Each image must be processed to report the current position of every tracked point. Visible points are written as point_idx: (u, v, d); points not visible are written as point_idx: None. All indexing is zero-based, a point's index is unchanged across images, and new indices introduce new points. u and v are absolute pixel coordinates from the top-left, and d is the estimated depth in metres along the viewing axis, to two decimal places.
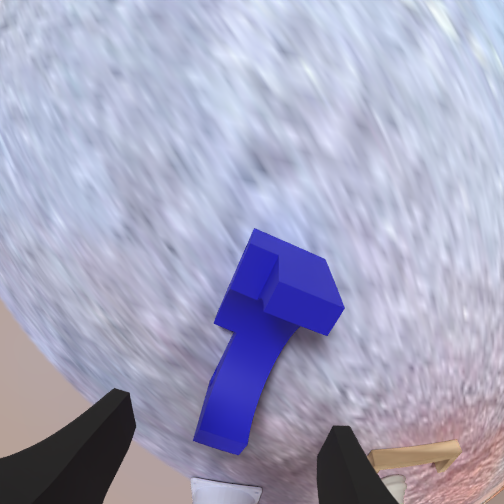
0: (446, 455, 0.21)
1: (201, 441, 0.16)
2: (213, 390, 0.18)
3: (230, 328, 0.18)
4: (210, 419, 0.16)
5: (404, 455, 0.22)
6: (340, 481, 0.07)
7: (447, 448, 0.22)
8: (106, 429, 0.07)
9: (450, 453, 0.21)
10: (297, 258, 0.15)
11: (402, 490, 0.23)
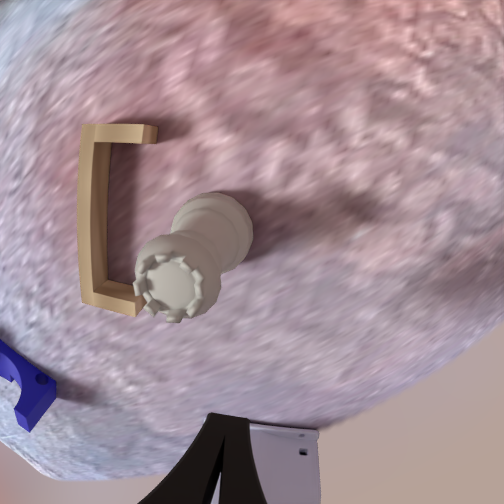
0: (79, 164, 0.15)
1: (26, 428, 0.19)
2: None
3: (9, 376, 0.23)
4: None
5: None
6: None
7: None
8: (218, 458, 0.07)
9: None
10: None
11: (181, 219, 0.15)
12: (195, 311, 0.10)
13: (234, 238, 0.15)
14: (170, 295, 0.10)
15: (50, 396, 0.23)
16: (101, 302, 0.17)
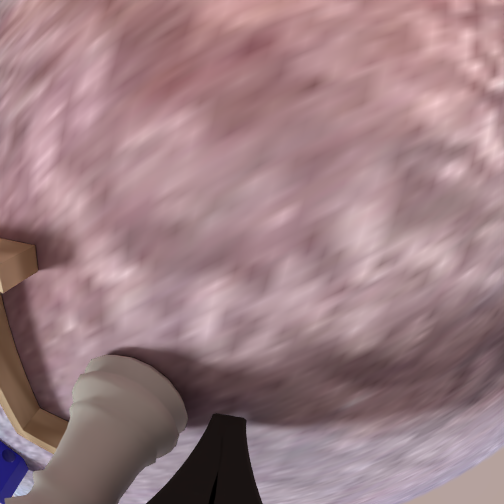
0: None
1: (1, 503, 0.12)
2: None
3: None
4: None
5: None
6: None
7: None
8: None
9: None
10: None
11: None
12: None
13: (144, 448, 0.08)
14: None
15: (19, 471, 0.16)
16: (33, 440, 0.10)
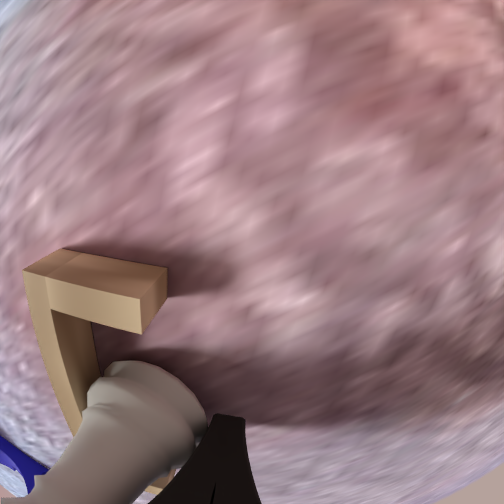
0: (38, 336, 0.08)
1: None
2: None
3: (11, 466, 0.16)
4: None
5: None
6: None
7: None
8: None
9: (34, 318, 0.08)
10: None
11: (90, 407, 0.08)
12: None
13: (159, 464, 0.07)
14: None
15: None
16: None
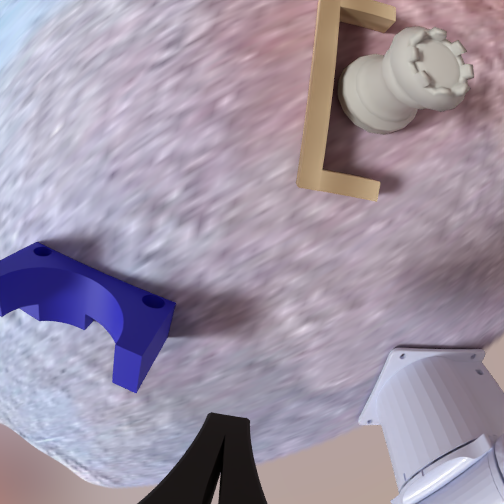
0: (320, 22, 0.11)
1: (132, 386, 0.15)
2: None
3: (83, 318, 0.19)
4: None
5: (306, 118, 0.14)
6: None
7: (317, 21, 0.12)
8: (218, 459, 0.07)
9: (319, 13, 0.11)
10: None
11: (365, 63, 0.12)
12: (466, 89, 0.07)
13: None
14: (439, 72, 0.07)
15: (165, 328, 0.18)
16: (331, 184, 0.14)
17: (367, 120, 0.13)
